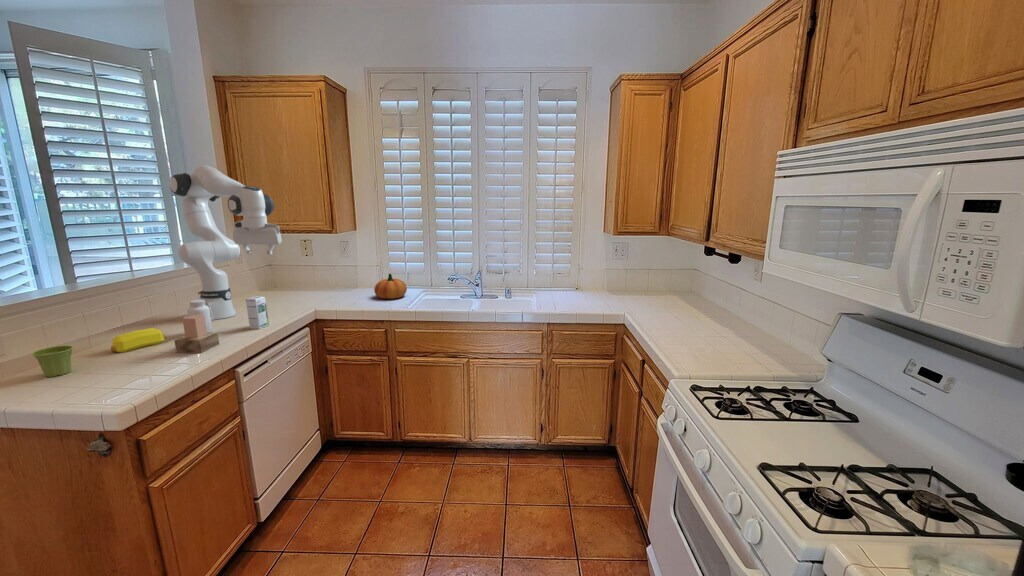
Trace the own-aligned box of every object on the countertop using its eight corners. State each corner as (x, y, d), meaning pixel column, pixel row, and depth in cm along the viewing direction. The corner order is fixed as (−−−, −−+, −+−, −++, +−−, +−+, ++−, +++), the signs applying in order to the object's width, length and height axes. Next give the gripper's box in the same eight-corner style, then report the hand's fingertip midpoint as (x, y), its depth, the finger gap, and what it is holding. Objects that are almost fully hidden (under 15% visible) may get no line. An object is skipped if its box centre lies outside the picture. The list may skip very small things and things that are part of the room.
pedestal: (176, 352, 162) (174, 339, 161) (195, 343, 172) (193, 331, 171) (201, 352, 162) (199, 340, 161) (219, 344, 172) (217, 332, 171)
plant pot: (57, 368, 146) (51, 345, 144) (85, 367, 147) (80, 345, 145) (29, 379, 137) (23, 355, 135) (59, 379, 138) (54, 354, 136)
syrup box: (259, 329, 192) (256, 299, 189) (249, 328, 193) (245, 298, 190) (269, 325, 198) (265, 296, 194) (258, 324, 199) (255, 295, 196)
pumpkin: (398, 292, 271) (396, 270, 268) (412, 297, 257) (411, 274, 254) (369, 296, 258) (368, 273, 255) (383, 302, 244) (382, 277, 241)
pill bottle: (216, 331, 188) (212, 299, 185) (198, 336, 181) (193, 303, 178) (204, 329, 191) (199, 298, 188) (186, 334, 183) (181, 302, 180)
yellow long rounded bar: (170, 342, 174) (162, 339, 178) (168, 327, 173) (159, 324, 176) (115, 355, 159) (107, 352, 162) (112, 339, 157) (103, 336, 161)
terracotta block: (185, 337, 164) (182, 318, 162) (195, 333, 168) (192, 315, 167) (198, 337, 164) (194, 318, 162) (207, 333, 168) (204, 315, 167)
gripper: (282, 223, 187) (286, 253, 190) (238, 222, 187) (242, 253, 190) (274, 224, 181) (278, 255, 184) (228, 223, 181) (233, 254, 184)
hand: (259, 254), depth 187 cm, fingers open, 8 cm apart
